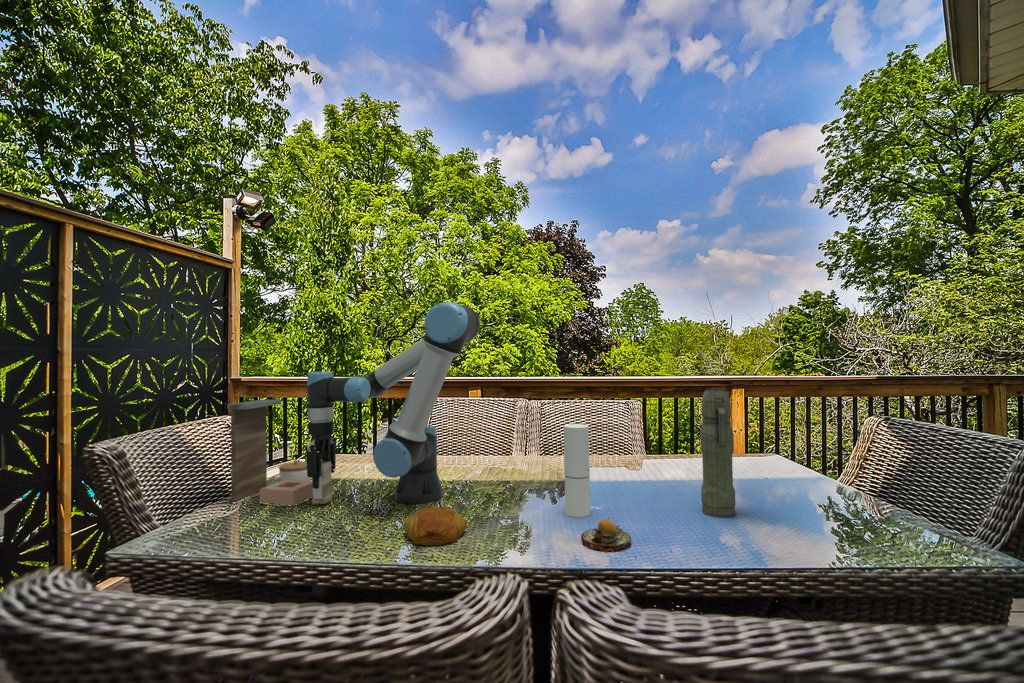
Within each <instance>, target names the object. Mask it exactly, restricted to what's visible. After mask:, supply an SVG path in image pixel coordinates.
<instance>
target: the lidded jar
mask: <svg viewBox="0 0 1024 683" xmlns="http://www.w3.org/2000/svg"><path fill="white" fill-rule="evenodd" d="M278 469H279V478H280V481H282V480H285V479H287V480H308V481H311V478H310V477H308V476H307V461H298V459H296V460H295V459H294V460H293V462H287V463H283V464H281V465H280V466H279V467H278Z"/></svg>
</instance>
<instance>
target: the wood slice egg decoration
mask: <svg viewBox="0 0 1024 683" xmlns="http://www.w3.org/2000/svg"><path fill="white" fill-rule="evenodd" d="M597 527H598V528H592V529H589V530H586V531H584V532H582V533H581V538H580V540H581V541H582V542H581V544H582V545H583V544H584V545H585V547H586V548H587V549H590V550H592V549H594V550H596V549H597V550H599V551H600V552H604V553H606V552H609V551H610V552H611V553H617V552H623V551H626V550H628V549H629V548H631V547H632V542H630V541H631V540H632V538H631V535H630V534H628V532H626V531H623V530H624V528H620V525H616V523H615V522H614V521H612V520H610V519H609V518H608V519H606V518H605V519H601V520H600V521H598V524H597Z"/></svg>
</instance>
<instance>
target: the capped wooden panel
mask: <svg viewBox="0 0 1024 683" xmlns="http://www.w3.org/2000/svg"><path fill="white" fill-rule="evenodd" d="M281 404H282V399H257V400H250V401H242V402H237V403H236V402H235V403H227V406H226V407H227V408H226V409H227V410H230V420H231V421H230V437H231V438H230V441H231V444H230V449H231V450H230V452H231V454H230V456H231V459H230V460H231V462H230V464H231V471H230V472H231V475H230V476H231V482H230V483H231V486H230V487H231V488H230V489H231V491H230V492H231V503H232V502H236V501H239V500H241V499H243V498H245V497H248V496H251V495H254V494H257V493H260V489H261V488H264V487H266V486H268V485H267V484H268V480H267V479H268V478H267V476H268V475H267V474H268V473H267V472H268V471H267V469H268V468H267V466H268V465H267V407H271V406H276V405H277V406H278V405H281Z"/></svg>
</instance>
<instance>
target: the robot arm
mask: <svg viewBox="0 0 1024 683" xmlns="http://www.w3.org/2000/svg"><path fill="white" fill-rule="evenodd" d="M480 321H481V320H480V317H479V315H478V314H477V312H476V311H475V310H474V309H473V308H471V307H470V306H467V305H463V304H459V303H457V302H453V301H445V302H440V303H437V304H435V305H434V306H432V307H431V308H430V309H429V310H428V311H427V313H426V315H425V317H424V328H425V334H424V336H423V338H422V339H420V340H418V341H417V342H415V343H414V344H413V345H411V346H409V347H408V348H407V349H405V350H403V351H401V352H400V353H399V354H397V355H395V356H394V357H392V358H391V359H389V360H388V361H386V362H385V363H383V364H381V365H379V367H377V368H376V369H374V370H372V371H370V373H367V374H366V375H360V376H359V375H358V376H349V377H347V376H345V377H334V373H333V372H332V371H329V370H328V371H325V370H324V371H310V372H309V373H308V374H307V381H306V382H307V384H306V388H307V389H306V390H307V421H309V422H308V423H307V433H308V435H309V436H311V439H310V442H309V444H305V446H304V449H305V453H306V454H305V456H306V462H307V476H308V477H310V479H311V481H312V484H313V498H312V500H313V499H322V477H320V472H321V462H322V461H327V462H331V474H334V473H335V472H336V471H335V469H336V466H337V464H336V449H337V448H336V445H337V438H336V437H332V435H331V434H333V433H334V431H335V424H334V418H335V417H334V415H335V414H334V403H336V402H342V403H343V402H344V403H359V402H365V401H367V400H368V399H374V398H378V397H380V396H383V395H384V394H385V393H386V391H387V390H388V389H389V388H391V387H393V386H394V385H395V384H398V383H399V382H400V381H402V380H403V379H405V378H406V377H408V376H410V375H412V374H413V373H415V374H414V376H413V378H412V381H411V385H410V387H409V389H408V392H407V395H406V397H405V399H404V402H403V405H402V406H401V410H400V412H399V414H398V417H397V420H396V421H395V422H392V423H391V424H389V427H388V429H387V430H386V434H385V436H384V438H383V439H380V441H379V442H378V443H376V445H375V447H374V449H373V453H372V457H373V458H372V459H373V463H374V464H375V466H376V469H377V470H378V472H380V473H381V474H382V475H383V476H385V477H387V478H393V479H394V478H395V479H396V478H399V479H398V480H397V481H398V482H397V485H396V488H395V492H394V495H395V496H394V497H395V498H394V499H395V500H396V501H397V502H399V503H402V504H403V503H404V504H425V503H430V502H434V501H437V500H440V499H441V498H442V497H443V494H444V493H443V491H444V490H443V486H442V483H441V480H440V477H439V475H438V459H437V458H438V457H437V456H438V454H437V453H438V449H437V448H438V447H437V446H438V442H437V439H438V436H437V429H436V427H434V426H432V425H431V426H429V425H427V424H429V423H428V422H429V419H430V418H431V415H432V413H433V410H434V408H435V404H436V402H437V399H438V397H439V394H440V391H441V389H442V387H443V384H444V382H445V379H446V378H447V374H448V372H449V370H450V366H451V365H452V362H453V359H454V358H456V357H458V356H459V355H461V354H462V351H463V348H464V345H465V344H468V343H469V342H471V341H472V340H474V339H475V337H476V336H477V335H478V334H479V330H480V328H481V322H480Z"/></svg>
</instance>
